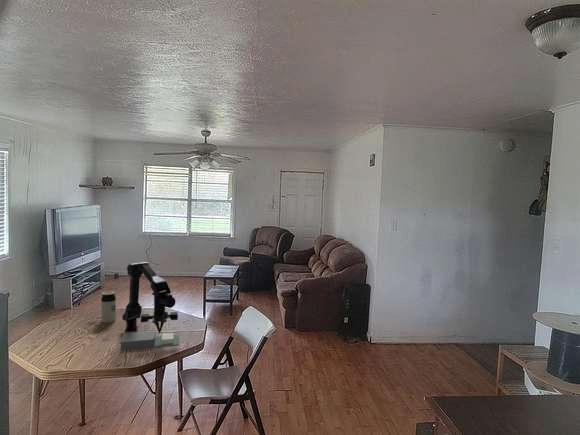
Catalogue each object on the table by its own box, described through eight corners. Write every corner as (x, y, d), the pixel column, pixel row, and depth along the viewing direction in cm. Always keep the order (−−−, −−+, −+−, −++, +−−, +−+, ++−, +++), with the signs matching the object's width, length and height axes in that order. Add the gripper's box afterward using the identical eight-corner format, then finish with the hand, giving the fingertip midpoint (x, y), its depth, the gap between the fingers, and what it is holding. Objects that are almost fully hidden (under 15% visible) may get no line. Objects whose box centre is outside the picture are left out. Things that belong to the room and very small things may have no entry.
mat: (156, 337, 211) (156, 336, 211) (178, 335, 214) (178, 334, 214) (155, 347, 197) (155, 346, 197) (179, 345, 201) (179, 344, 201)
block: (173, 332, 211) (173, 336, 211) (162, 333, 209) (162, 337, 209) (173, 338, 202) (173, 343, 202) (161, 339, 200) (161, 344, 201)
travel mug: (98, 321, 233) (98, 293, 232) (110, 318, 240) (109, 290, 239) (107, 324, 230) (107, 294, 229) (118, 320, 237) (118, 292, 236)
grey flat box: (124, 340, 205) (124, 333, 205) (155, 337, 210) (155, 330, 210) (120, 349, 193) (120, 342, 193) (154, 346, 198) (154, 339, 197)
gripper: (139, 309, 193) (139, 339, 194) (177, 307, 198) (177, 336, 199) (141, 303, 204) (141, 332, 204) (177, 301, 209) (177, 329, 210)
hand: (159, 332), depth 204 cm, fingers closed
